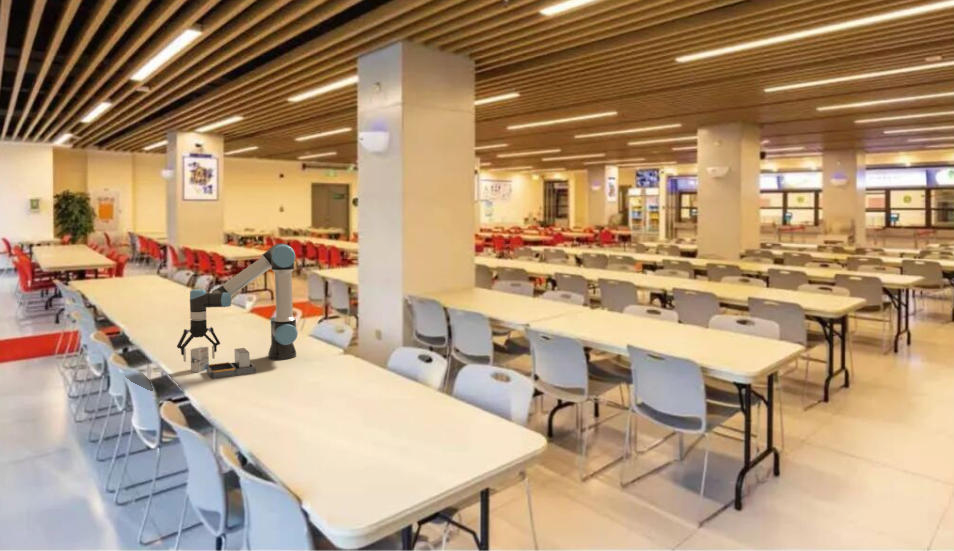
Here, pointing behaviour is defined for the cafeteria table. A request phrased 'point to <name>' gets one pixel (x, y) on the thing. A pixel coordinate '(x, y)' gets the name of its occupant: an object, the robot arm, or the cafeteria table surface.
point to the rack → (232, 366)
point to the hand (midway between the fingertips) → (199, 359)
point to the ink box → (199, 358)
